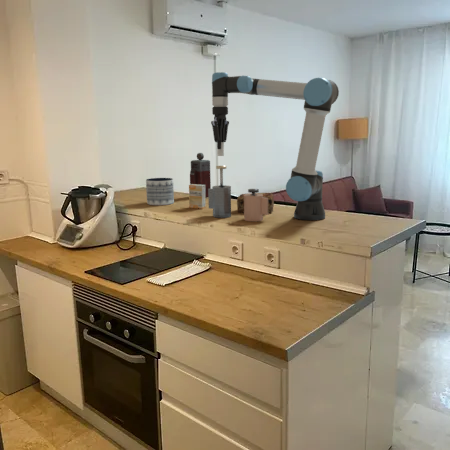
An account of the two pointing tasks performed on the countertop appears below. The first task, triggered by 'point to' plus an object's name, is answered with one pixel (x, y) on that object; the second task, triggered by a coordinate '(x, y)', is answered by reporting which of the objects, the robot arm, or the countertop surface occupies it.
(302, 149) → the robot arm
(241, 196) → the bread
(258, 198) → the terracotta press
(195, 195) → the supplement box
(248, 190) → the glossy charcoal round knob
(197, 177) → the dark red french press
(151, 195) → the planter
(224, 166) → the steel plunger
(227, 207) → the faceted cylinder
